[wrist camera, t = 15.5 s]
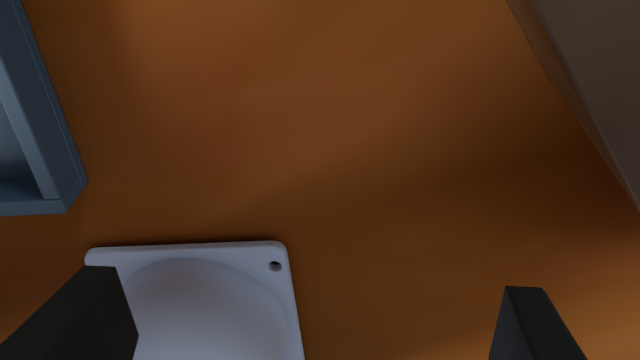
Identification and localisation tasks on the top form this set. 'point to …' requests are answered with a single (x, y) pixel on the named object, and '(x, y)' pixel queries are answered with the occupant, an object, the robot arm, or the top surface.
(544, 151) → the top surface
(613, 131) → the cabinet
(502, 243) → the top surface
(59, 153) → the tray
